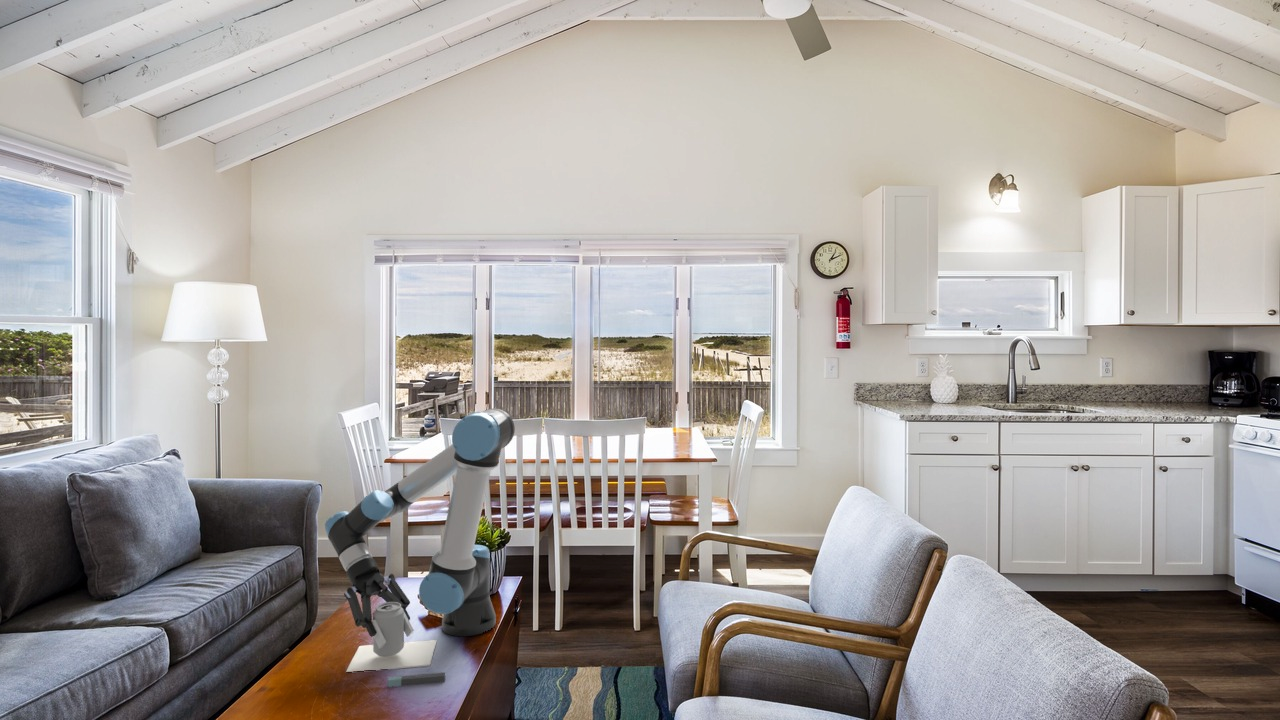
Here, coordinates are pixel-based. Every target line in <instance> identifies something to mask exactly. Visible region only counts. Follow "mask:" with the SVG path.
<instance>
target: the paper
mask: <svg viewBox="0 0 1280 720" xmlns="http://www.w3.org/2000/svg"><path fill="white" fill-rule="evenodd" d="M437 641H438V640H437V639H430V640H419V641H406V642H405V641H404V647H403V649H402V650H401V651H400V652H399V653H397V654H395V655H393V656H388V657H382V656H378V655H377V654H375V653H374V652H373V644H365V645H359V646H358V647H357V650H356V651H355V654H354V656H353V657H352V659H351V660H350V663H349V665H348V667H347V669H346V671H345V673H346V672H352V673H354V672H353V671H364V670H376V671H381V670H380V669H388V670H397V669H398V670H399V669H411V668H423V667H430V666H431V664H432V660H433V657H434V656H433V655H434V653H435V649H436V646H437ZM364 672H365V671H364Z"/></svg>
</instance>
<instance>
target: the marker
mask: <svg viewBox="0 0 1280 720" xmlns="http://www.w3.org/2000/svg"><path fill="white" fill-rule="evenodd" d="M445 682H446V672H437V673H434V672H433V673H424V674H413V675H410V674H409V675H394V676H389V677H388V679H387V688H395V686H396V687H405V686H415V685H416V686H417V685H426V684H427V685H428V684H437V683H438V684H439V683H445ZM392 686H394V687H392Z"/></svg>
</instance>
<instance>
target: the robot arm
mask: <svg viewBox="0 0 1280 720" xmlns="http://www.w3.org/2000/svg"><path fill="white" fill-rule="evenodd" d="M515 431H516V427H515V422H514V421H513V418H512V417H511V415H510V414H509V413H508V412H506V411H505V410H504V409H499V408H488V409H485V410H481V411H475V412H471V413H469V414H468V415H465V416H464V417H462V418H461V419H460V420H459V421H458V422H457V423H456V425H455V426H454V427H453V430H452V433H451V442H452V444H451V445H449V446H448V447H446V448H445V449H444V450H442V451H441V452H439V453H438V454H436V455H435V456H433V457H432V458H431V459H429V460H428V461H427V462H425V463H423V464H422V465H421V466H419V467H418V468H417V469H415V470H414V471H412V472H411V473H409V474H407V476H405V477H404V478H402V479H401V480H399V481H397V482H396V483H395V484H394V485H392V486H390V487H388V489H386V490H384V491H383V490H380V489H375V490H373V491H372V492H370V493H369V494H367V495H366V496H364V498H363V499H362V500H361V501H360V502H359V503H358V504H357V505H356V506H355V507H353V508H352V510H351V511H350V512H349V511H347V510H346V511H345V510H343V511H340V512H337V513H334V514H333V515H332V516H330V517H329V518H327V520H326V521H325V522H324V529H325V533H326V534H327V538H328V540H329V542H330V543H331V545H332V546H333V548H334V550H335V552H336V554H337V557H338V559H339V561H340V563H341V565H342V567H343V569H344V571H345V574H346V576H347V577H348V580H349V582H350V584H351V585H352V587H350V586H349V587H347V589H346V590H345V592H344V593H343V596H344V597H345V599H346V600H347V602H348V605H349V608H350V611H351V614H352V615H351V616H352V618H353V620H354V624H355V626H356V627H357V628H358V627H362V628H363V629H366V631H367V632H368V635H369V637H371V638H373V637H374V639H375V641H376V643H377V645H378V647H379V649H380V648H382V647H383V646H384V644H385V643H386V640H385V638H384V636H383V634H382V632H381V630H380V628H379V626H378V624H377V622H376V620H373V614H372V603H371V597H372V596H378V597H379V598H382V599H383V600H384V601H385V603H386V602H398V603H400V604H401V607H402V608H403V610H404V635H405V636H406V637H410V636H411V635H412V634H413V632H414V631H415V630H414V628H413V626H412V624H411V621H410V620H411V617H410V615H409V613H408V611H407V607H408V606H409V605H410V604H411V601H410V599H409V598H408V597H407V595H406V593H405V592H404V591H403V589H402V588H401V586H400V585H399V584H398V582H397V581H396V578H395V575H394V574H393V573H390V574H389V575H386V576H384V575H383V574H382V573H381V572H380V568H379V565H378V564H377V562H376V560H375V558H373V554H372V552H371V550H370V548H369V546H368V544H367V542H366V540H365V535H367V534H368V533H369V532H370V531H371V530H373V529H374V528H375V527H376V526H377V525H378V524H379V523H381V522H384V521H386V520H388V519H389V518H391V517H393V516H396V515H397V514H399V513H403V512H404V511H407V510H408V509H409V508H410V507H411V505H412V504H414V503H415V502H416V501H418V500H420V499H421V498H423V497H424V496H425V495H427V494H428V493H430V492H431V491H432V490H434V489H435V488H437V487H438V486H440V485H441V484H443V483H444V482H445V481H447V480H448V479H450V478H451V477H453V476H454V475H455V479H454V483H453V487H452V492H451V495H450V496H451V497H450V502H449V506H448V511H447V515H446V519H445V524H444V528H443V529H444V530H443V534H442V538H441V542H440V543H441V544H440V548H439V550H438V551H437V552H435V553H434V554H433V555H432V558H431V562H430V566H429V571H428V574H427V575H426V576H424V577H423V579H422V581H421V582H420V585H419V588H418V592H419V593H418V594H419V599H420V600H421V602H422V603H423V605H424V607H425V608H426V609H427V610H428V611H430V612H432V613H434V614H436V615H443V616H442V618H441V619H442V620H441V630H442V632H444V633H445V634H448V635H449V636H454V637H472V636H477V635H481V634H484V633H486V632H489V631H491V630H492V629H493V628H495V626H496V624H497V622H496V621H497V614H496V611H495V609H494V606H493V603H492V601H491V600H492V599H491V597H490V585H491V583H490V580H491V579H490V573H491V572H490V570H491V569H490V568H491V567H490V566H491V565H490V564H491V563H490V561H491V557H490V550H489V548H488V547H487V546H485V545H482V544H475V543H476V539H477V534H478V529H479V526H480V521H481V516H482V513H483V512H482V511H483V506H484V504H485V503H484V502H485V499H486V493H487V488H488V484H489V479H490V475H491V472H492V470H494V469H496V468H497V467H498V466H499V465H498V464H499V461H500V456H501V453H502V452H501V451H502V450H503V449H504V448H506V447H507V446H508V445H509V444H510V443H511V441H512V440H513V439H514V436H515ZM357 594H359V595H360V601H359V599H358V596H357ZM360 602H361V605H360ZM361 607H362V609H361ZM491 628H492V629H491ZM488 630H489V631H488ZM485 631H486V632H485ZM483 632H484V633H483Z"/></svg>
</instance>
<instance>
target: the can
mask: <svg viewBox="0 0 1280 720" xmlns="http://www.w3.org/2000/svg"><path fill="white" fill-rule="evenodd" d="M373 620H376V622H377V624H378V626H379V628H380V630H381V632H382V634H383V636H384V638H385V640H386V643H385V644H384V646H383V647H382V648H380V649H379V647H378V645H377V643H376V641H375V639H374V637H373V636H372V645H373V652H374V653H375V654H377V655H378V656H382V657H388V656H393V655H395V654H397V653H399V652H400V651H401V650H402V649H403V647H404V642H405V632H404V610H403V608H402V607H401V604H400V603H398V602H386V601H385V602H382V603H379V604H378V605H376V606H375V611H374V612H373V614H372V621H373Z"/></svg>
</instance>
